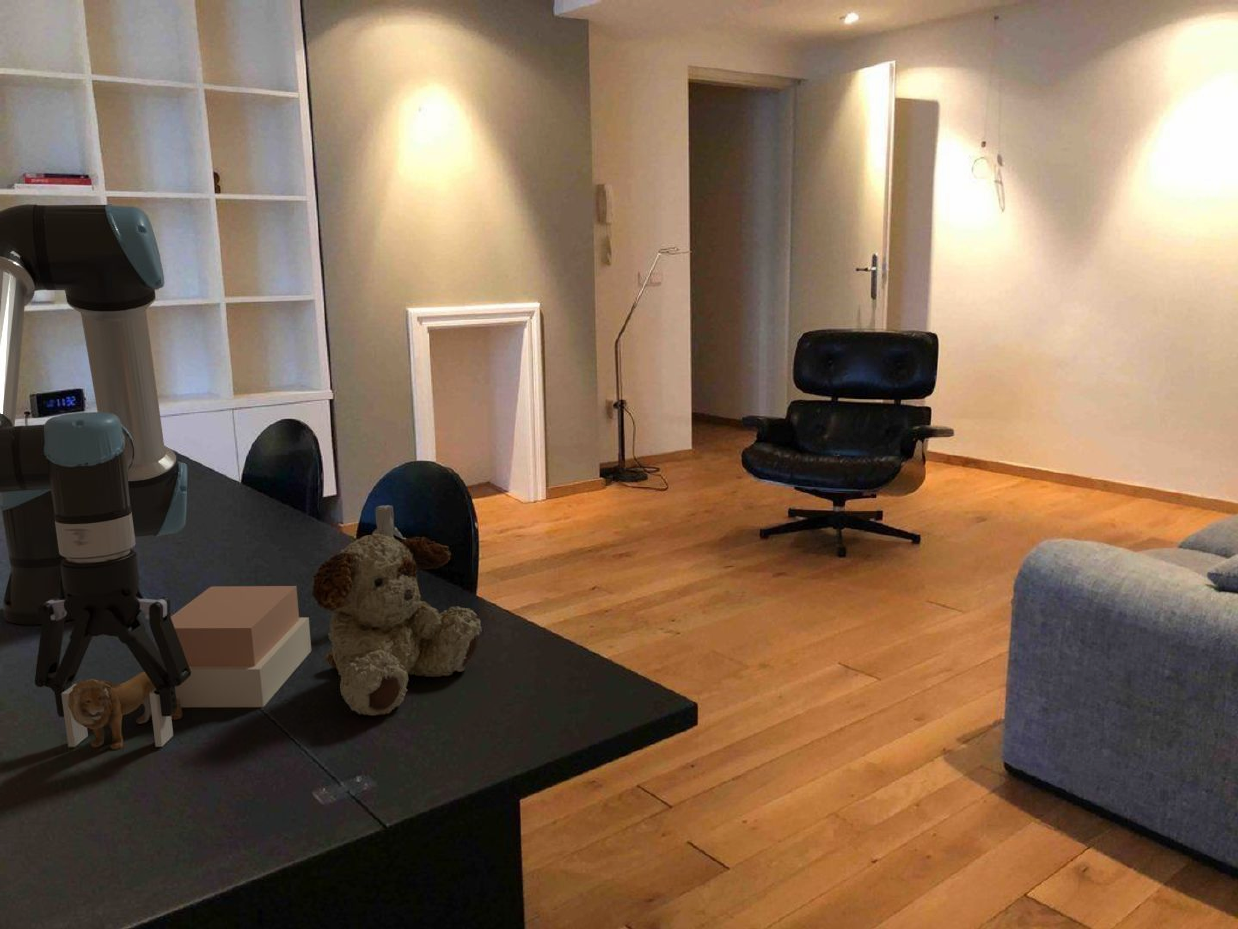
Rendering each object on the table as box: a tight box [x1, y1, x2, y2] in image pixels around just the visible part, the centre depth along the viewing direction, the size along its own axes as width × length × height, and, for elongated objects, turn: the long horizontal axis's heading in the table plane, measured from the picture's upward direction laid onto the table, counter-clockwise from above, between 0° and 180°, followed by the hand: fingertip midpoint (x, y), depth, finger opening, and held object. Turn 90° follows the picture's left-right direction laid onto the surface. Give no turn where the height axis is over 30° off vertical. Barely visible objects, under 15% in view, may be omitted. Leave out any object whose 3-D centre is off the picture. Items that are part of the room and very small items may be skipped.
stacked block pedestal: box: [156, 585, 312, 708], centre depth 129 cm, size 14×18×10 cm
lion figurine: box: [68, 671, 183, 750], centre depth 114 cm, size 15×5×9 cm, turn 161°
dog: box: [311, 534, 483, 716], centre depth 127 cm, size 23×19×20 cm
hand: (121, 741), depth 112 cm, fingers open, 9 cm apart
